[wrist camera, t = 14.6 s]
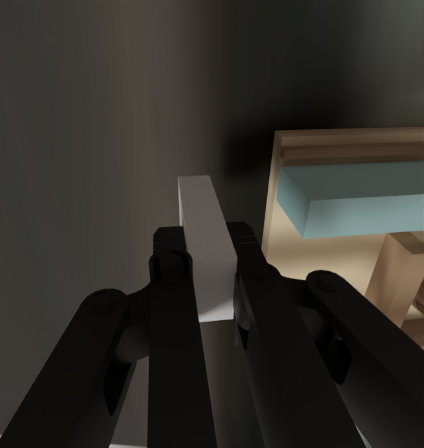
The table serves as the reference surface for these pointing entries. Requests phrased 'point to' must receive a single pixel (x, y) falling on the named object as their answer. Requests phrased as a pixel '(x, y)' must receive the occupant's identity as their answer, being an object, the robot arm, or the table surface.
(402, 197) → the block
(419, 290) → the beer glass
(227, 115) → the table surface
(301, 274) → the board
